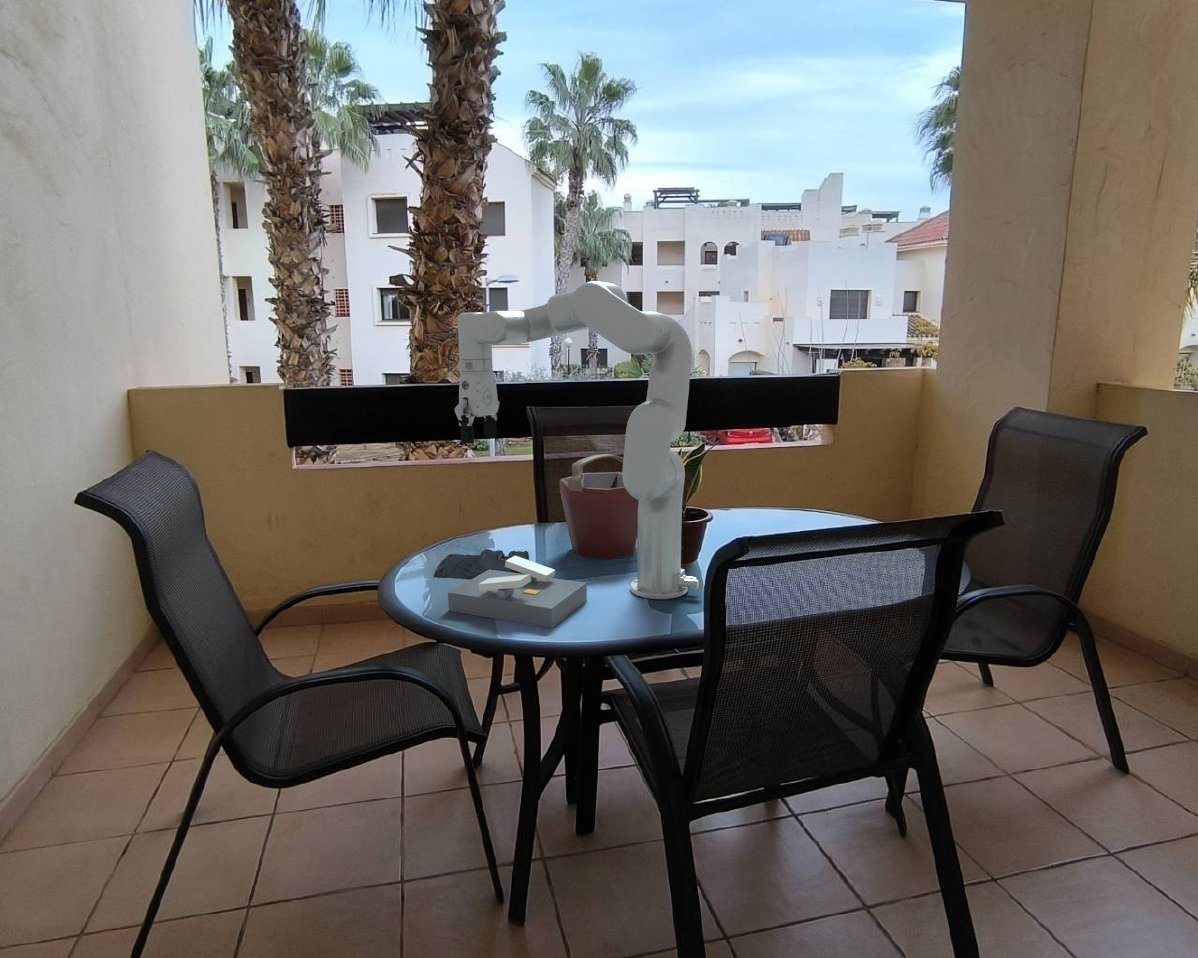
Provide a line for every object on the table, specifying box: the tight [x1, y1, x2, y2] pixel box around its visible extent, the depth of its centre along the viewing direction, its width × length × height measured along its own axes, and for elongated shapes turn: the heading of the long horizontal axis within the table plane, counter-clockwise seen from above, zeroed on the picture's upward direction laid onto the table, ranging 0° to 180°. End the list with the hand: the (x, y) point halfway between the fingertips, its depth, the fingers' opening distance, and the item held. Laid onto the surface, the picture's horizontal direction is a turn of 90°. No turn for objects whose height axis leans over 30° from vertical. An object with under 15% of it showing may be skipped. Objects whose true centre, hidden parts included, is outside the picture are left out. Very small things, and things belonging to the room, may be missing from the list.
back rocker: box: [505, 556, 556, 582], centre depth 160 cm, size 10×4×1 cm, turn 66°
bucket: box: [559, 453, 638, 561], centre depth 194 cm, size 24×22×25 cm
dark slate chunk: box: [433, 548, 531, 580], centre depth 181 cm, size 15×22×5 cm
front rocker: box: [478, 574, 531, 591], centre depth 151 cm, size 10×4×1 cm, turn 66°
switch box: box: [447, 569, 588, 629], centre depth 156 cm, size 24×16×6 cm, turn 66°
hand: (479, 440), depth 177 cm, fingers open, 9 cm apart
